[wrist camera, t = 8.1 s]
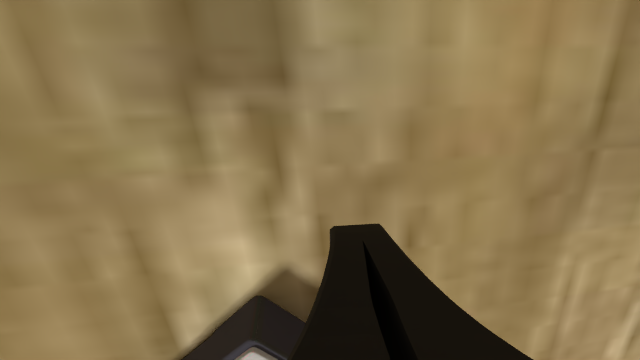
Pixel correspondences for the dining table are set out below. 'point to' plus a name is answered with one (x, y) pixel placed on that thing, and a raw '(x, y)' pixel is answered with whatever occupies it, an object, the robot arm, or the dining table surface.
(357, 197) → the dining table surface
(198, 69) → the dining table surface
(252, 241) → the dining table surface
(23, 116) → the dining table surface
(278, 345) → the red white black box
